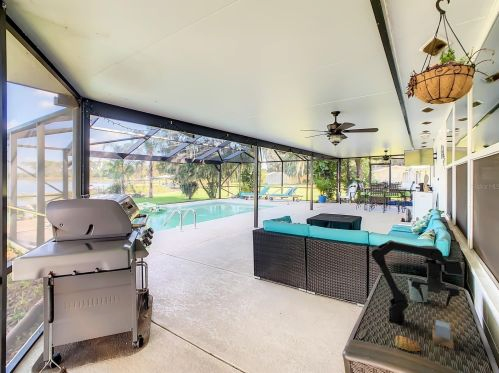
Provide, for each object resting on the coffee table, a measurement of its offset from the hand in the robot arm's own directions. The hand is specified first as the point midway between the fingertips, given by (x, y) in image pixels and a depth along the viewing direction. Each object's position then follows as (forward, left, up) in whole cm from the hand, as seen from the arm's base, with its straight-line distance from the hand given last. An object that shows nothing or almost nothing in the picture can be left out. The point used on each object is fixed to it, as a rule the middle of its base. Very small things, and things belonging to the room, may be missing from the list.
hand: (434, 303), depth 121 cm
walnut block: (+3, -11, -12) cm, 17 cm away
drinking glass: (-9, +30, -12) cm, 34 cm away
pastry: (-10, -25, -12) cm, 29 cm away
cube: (+3, -11, -9) cm, 15 cm away
